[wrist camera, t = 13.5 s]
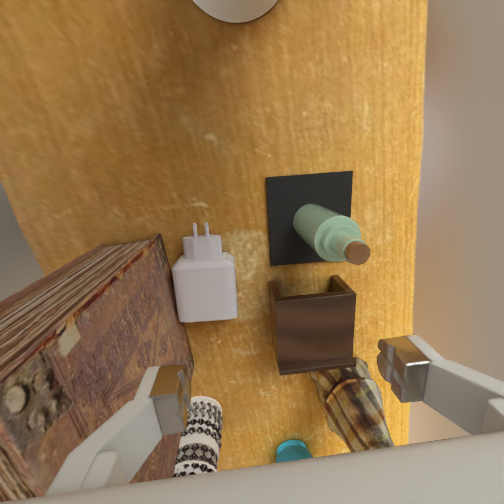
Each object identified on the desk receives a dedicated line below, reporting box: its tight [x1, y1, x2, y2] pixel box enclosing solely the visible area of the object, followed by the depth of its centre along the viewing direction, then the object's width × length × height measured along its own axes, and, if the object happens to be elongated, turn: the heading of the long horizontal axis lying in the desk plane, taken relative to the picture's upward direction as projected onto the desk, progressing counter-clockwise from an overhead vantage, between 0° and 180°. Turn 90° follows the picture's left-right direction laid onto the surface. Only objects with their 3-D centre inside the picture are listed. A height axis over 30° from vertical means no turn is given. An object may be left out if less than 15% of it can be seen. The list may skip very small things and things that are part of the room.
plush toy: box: [310, 358, 394, 452], centre depth 40 cm, size 14×14×25 cm
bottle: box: [293, 204, 370, 265], centre depth 33 cm, size 6×6×16 cm
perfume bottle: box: [276, 440, 313, 463], centre depth 50 cm, size 9×9×15 cm
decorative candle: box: [173, 396, 223, 478], centre depth 40 cm, size 9×9×25 cm
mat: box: [266, 171, 353, 266], centre depth 41 cm, size 14×13×1 cm
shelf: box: [269, 275, 356, 375], centre depth 42 cm, size 12×12×8 cm
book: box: [0, 234, 194, 502], centre depth 29 cm, size 25×9×30 cm, turn 8°
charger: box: [172, 222, 238, 322], centre depth 40 cm, size 5×9×15 cm
